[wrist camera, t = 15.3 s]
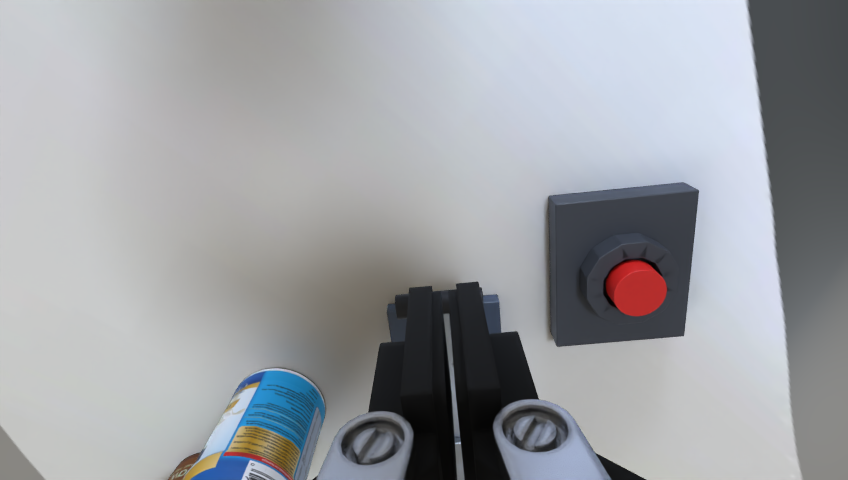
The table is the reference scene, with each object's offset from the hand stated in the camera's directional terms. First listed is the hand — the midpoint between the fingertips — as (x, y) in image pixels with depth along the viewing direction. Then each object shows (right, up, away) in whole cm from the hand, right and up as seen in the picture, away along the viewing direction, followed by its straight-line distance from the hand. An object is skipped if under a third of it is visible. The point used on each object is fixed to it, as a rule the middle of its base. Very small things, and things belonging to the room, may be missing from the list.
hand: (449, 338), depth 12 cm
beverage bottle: (-13, -12, +32) cm, 37 cm away
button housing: (+14, +1, +27) cm, 30 cm away
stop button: (+14, -1, +23) cm, 27 cm away
